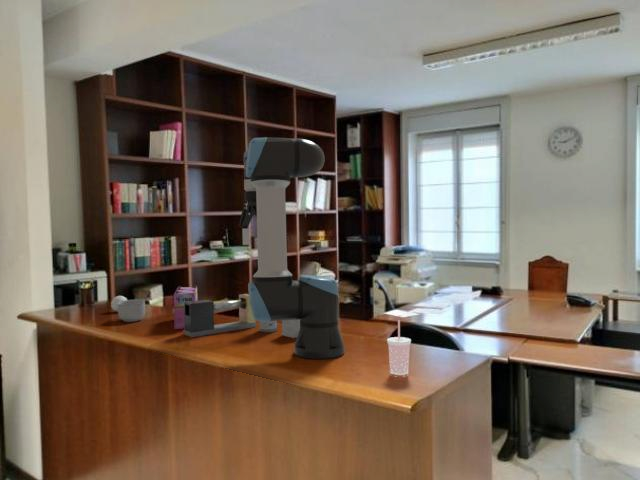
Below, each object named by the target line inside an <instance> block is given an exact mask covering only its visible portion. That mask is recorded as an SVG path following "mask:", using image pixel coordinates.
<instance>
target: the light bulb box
mask: <svg viewBox="0 0 640 480" xmlns="http://www.w3.org/2000/svg"><path fill="white" fill-rule="evenodd" d="M281 323H282V324H281V325H282V326H281V327H282V329H281V330H282V336H284V337H288V338H291V339H292V338H293V339H295V338H296V339H297V336H298V333H299V329H300V319H299V320H281Z"/></svg>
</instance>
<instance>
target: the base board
mask: <svg viewBox="0 0 640 480" xmlns="http://www.w3.org/2000/svg"><path fill="white" fill-rule="evenodd" d="M252 328H257V322H255V323H251V324H245V323H242V322H239V321H234V322H227V323H226V322H225V323H220V324H214V329H210V330H204V331H197V332H188V331H185V329H183V335H185V336H187V337H191V338H196V336H197V337H202V336H208V335H215V334H219V333H220V334H221V333H227V332H233V331H239V330H246V329H252Z"/></svg>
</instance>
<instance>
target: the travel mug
mask: <svg viewBox="0 0 640 480" xmlns="http://www.w3.org/2000/svg"><path fill="white" fill-rule="evenodd" d="M277 322H278V321H271V322H269V321H259V331H260V332H261V333H267V334H269V333H274V332H276V331H278V323H277Z"/></svg>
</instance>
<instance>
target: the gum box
mask: <svg viewBox="0 0 640 480" xmlns="http://www.w3.org/2000/svg"><path fill="white" fill-rule="evenodd" d="M192 301H198V285H193V287H188V286H187V287H185V286H184V287H183V286H181V285H179V286H178V287H177V288H176V290H175V292H174V293H173V305H174V306H173V310H174V311H173V313H174V314H173V315H174V316H173V319H174V323H173V324H174V327H173V328H174V330H185V319H184V302H192ZM183 328H184V329H183Z"/></svg>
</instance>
